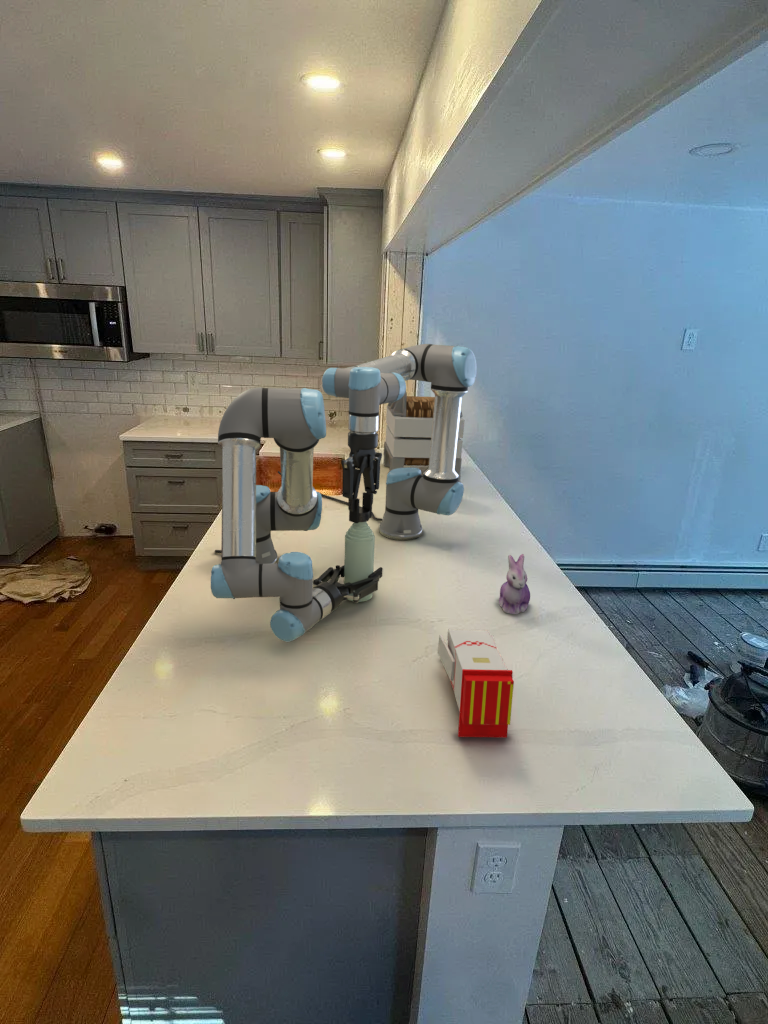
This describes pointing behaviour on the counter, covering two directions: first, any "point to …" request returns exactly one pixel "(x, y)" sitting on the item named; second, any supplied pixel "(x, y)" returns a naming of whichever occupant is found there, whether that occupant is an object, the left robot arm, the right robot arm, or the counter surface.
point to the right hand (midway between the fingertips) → (360, 519)
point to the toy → (478, 682)
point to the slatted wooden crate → (413, 433)
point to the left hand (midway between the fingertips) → (367, 568)
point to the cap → (364, 514)
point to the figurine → (515, 588)
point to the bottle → (359, 554)
